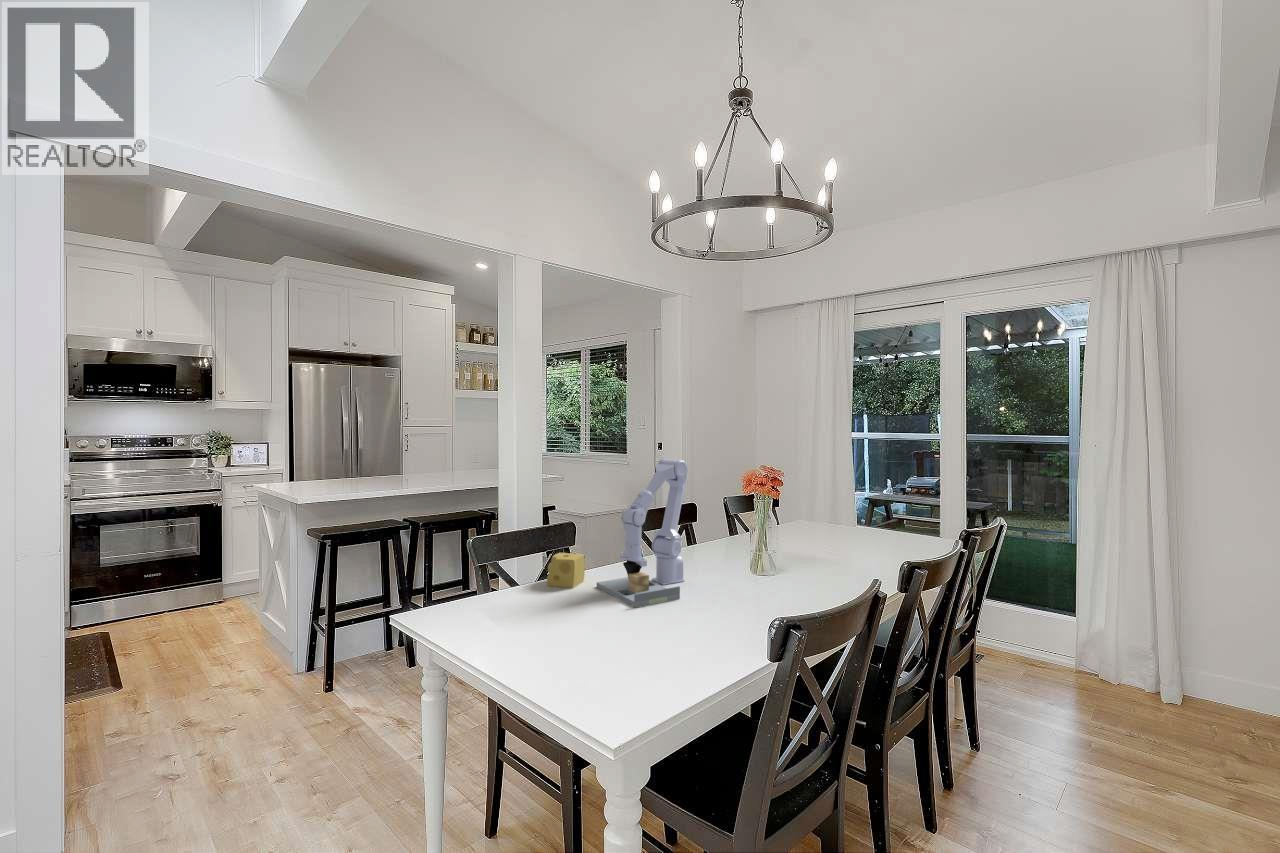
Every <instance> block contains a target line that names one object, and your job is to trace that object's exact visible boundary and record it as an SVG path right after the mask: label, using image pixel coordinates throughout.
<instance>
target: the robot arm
mask: <svg viewBox="0 0 1280 853" xmlns="http://www.w3.org/2000/svg"><path fill="white" fill-rule="evenodd" d="M688 471H689V467H688V465H687V463H686V461H684V459H669V458H661V459H660V460H659V461H658V462H657V464H656V466H655V473H654V474H653V476H652V478H651V479H650V481H649V483H648V485H647V486H646V489H645V490H641V491H639V493H637V495H636V498H635V499H634V500H633V502H632V503H631V504H630V507H627V508H625V509H623V511H622V514H621V516H620V519H621V522H622V523H623V529H624V551H623V552H619V558H620V559H622V560H623V561H624V562H623V563H622V565H623V566H624V568H625V571H626V574H627V575H628V574H630V573H637V572H641V570H642V568H643V567H647V565H648V561H647V560H646V559H645V558H644V557H643V555H642V546H643V545H642V544H643V543H642V541H643V540H642V537H643V536H642V531H643V530H642V529H643V528H642V526H643V525H644V524H645V521H646V517H647V514H648V511H649V509H650V507H651V506H652V505H653V503H654V502H655V496H654V495H656V493H657V492H658V491H659V489H660V488H661V486H662V485H663V484H664V483H665V482H666V483H667V484H668V485H669V489H668V496H667V499H666V500H667V501H666V504H665V510H664V515H663V521H662V526H661V528H660V529H658V530H657V531H656V532H655V535H654V538H653V539H652V542H651V550H652V552H653V553H654V556H655V557H656V560H655V561H656V562H655V563H656V566H655V567H656V568H655V569H656V575H655V576H656V577H652V578H651V581H653V582H655V583H657V584H658V583H659V585H662V586H663V585H670V584H676V583H682V582H685V578H684V560H683V558H682V556H680V553H681V552H682V536H681V535H680V533H678V530H677V529H678V526H679V520H680V514H681V509H682V504H683V498H684V495H685V494H684V493H685V488H686V482H687V476H688Z"/></svg>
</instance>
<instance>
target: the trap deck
mask: <svg viewBox="0 0 1280 853" xmlns="http://www.w3.org/2000/svg"><path fill="white" fill-rule="evenodd" d="M596 588H598V589H600V590H601V591H604V592H605V593H607V594H609V595H611V596H613V597H615V598H616V597H617V598H616V599H618V598H619V600H620V601H622V602H624V603H626V604H627V605H629V606H631V605H632V607H633V606H634V608H635V607H636V608H639V607H640V606H641V607H645V605H646V606H650V605H654V604H655V603H656V604H660V602H661V603H666V602H669V601H670V602H671V601H676V600H675V599H677V600H680V599H679V598H681V595H680V594H681V593H680V592H681V587H680V586H673V587H668V588H667V587H665V586H663V585H662V584H658V583H657V582H655V581H652V580H649V590H647V591H641V592H634V591H632V590H630V589H628V576H627V577H621V578H616V579H609V580H602V581H597V582H596ZM665 601H666V602H665Z"/></svg>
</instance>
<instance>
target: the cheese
mask: <svg viewBox="0 0 1280 853" xmlns="http://www.w3.org/2000/svg"><path fill="white" fill-rule="evenodd" d="M585 562H586V560H585V554H583V553H568V552H558V553H556V554H554V555H552V557H551V562H550V563H549V564H548V565H547V572H548V575H547V577H546V584H547V586H548V587H557V586H559V587H560V588H566V587H569V588H568V589H574V588H576V587H577V586H578V585H580V584H581V583H582V582H584V581H585V575H586V574H585V573H586V571H585V570H586V569H585V565H586V563H585ZM583 580H584V581H583ZM579 583H580V584H579ZM575 586H576V587H575Z"/></svg>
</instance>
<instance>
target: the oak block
mask: <svg viewBox="0 0 1280 853" xmlns="http://www.w3.org/2000/svg"><path fill="white" fill-rule="evenodd" d="M627 577H628V589H630V590H632V591H634V592H641V591H647V590H649V581H650V575H649V574H648V573H645V572H642V571H640V572H637V573H630V574H627Z"/></svg>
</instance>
